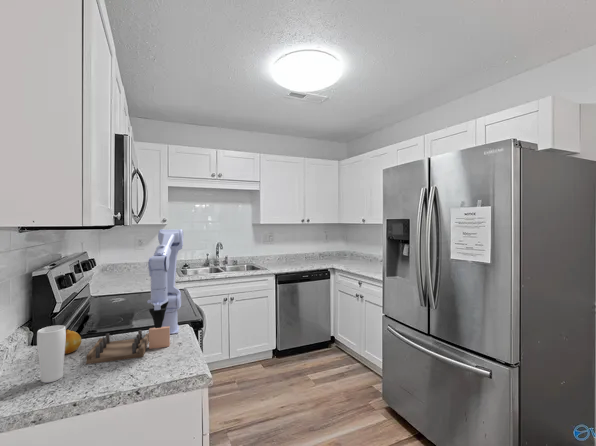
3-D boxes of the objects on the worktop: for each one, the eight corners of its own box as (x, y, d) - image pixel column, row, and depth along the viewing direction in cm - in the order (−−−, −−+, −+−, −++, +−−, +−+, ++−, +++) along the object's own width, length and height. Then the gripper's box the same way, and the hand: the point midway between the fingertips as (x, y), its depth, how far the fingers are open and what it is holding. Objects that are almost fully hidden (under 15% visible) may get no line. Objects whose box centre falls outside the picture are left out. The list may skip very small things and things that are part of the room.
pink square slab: (149, 346, 118) (149, 328, 118) (169, 344, 120) (169, 326, 120) (149, 348, 116) (148, 329, 116) (169, 346, 119) (169, 327, 119)
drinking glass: (50, 386, 90) (50, 333, 90) (31, 383, 92) (30, 332, 92) (71, 374, 97) (71, 325, 97) (53, 372, 98) (53, 324, 98)
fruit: (43, 350, 110) (56, 329, 111) (58, 343, 118) (71, 324, 119) (64, 362, 110) (77, 341, 111) (78, 354, 118) (90, 334, 119)
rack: (99, 345, 119) (99, 333, 119) (149, 340, 125) (149, 328, 125) (86, 364, 104) (85, 350, 104) (143, 356, 109) (143, 343, 109)
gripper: (149, 285, 124) (150, 319, 124) (144, 293, 110) (144, 332, 110) (169, 283, 126) (169, 317, 126) (166, 291, 112) (166, 329, 112)
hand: (159, 324), depth 118 cm, fingers open, 7 cm apart
